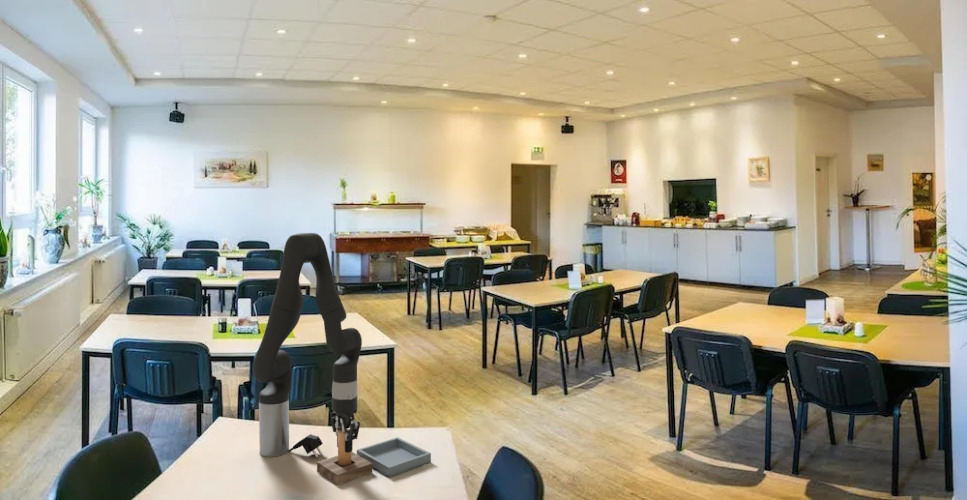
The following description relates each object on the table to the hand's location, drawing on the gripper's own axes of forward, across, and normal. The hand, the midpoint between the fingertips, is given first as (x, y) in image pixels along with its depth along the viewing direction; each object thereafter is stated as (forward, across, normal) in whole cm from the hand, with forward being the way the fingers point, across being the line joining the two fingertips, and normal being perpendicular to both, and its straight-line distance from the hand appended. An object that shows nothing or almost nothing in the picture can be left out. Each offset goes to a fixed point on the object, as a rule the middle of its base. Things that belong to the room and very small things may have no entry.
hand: (344, 449), depth 185 cm
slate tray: (+7, +3, +16) cm, 18 cm away
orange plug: (+4, 0, 0) cm, 4 cm away
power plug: (+7, -20, -3) cm, 22 cm away
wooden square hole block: (+7, 0, 0) cm, 7 cm away
